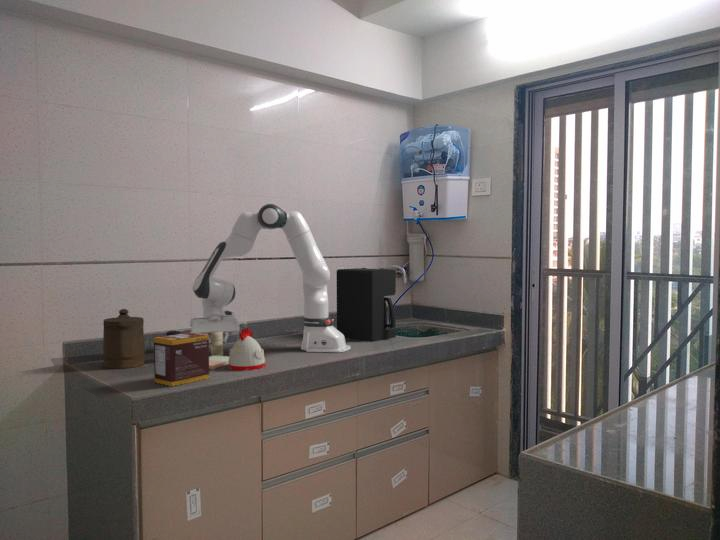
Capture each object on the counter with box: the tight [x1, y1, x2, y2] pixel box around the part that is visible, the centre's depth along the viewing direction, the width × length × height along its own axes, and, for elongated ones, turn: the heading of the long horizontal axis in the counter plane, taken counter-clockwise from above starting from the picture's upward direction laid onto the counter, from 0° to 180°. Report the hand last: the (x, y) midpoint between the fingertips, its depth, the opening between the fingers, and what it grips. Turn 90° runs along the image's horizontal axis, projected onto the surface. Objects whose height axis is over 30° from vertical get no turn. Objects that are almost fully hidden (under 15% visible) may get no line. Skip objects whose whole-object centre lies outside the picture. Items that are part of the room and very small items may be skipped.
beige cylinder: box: [210, 331, 224, 356], centre depth 241 cm, size 5×5×10 cm
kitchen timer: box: [227, 327, 266, 372], centre depth 218 cm, size 14×14×15 cm
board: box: [209, 355, 230, 370], centre depth 224 cm, size 12×18×1 cm, turn 161°
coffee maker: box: [336, 267, 397, 343], centre depth 288 cm, size 28×20×35 cm
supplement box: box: [153, 331, 210, 387], centre depth 195 cm, size 10×15×16 cm
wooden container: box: [102, 308, 146, 370], centre depth 222 cm, size 15×15×22 cm
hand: (217, 343), depth 240 cm, fingers closed on beige cylinder, 5 cm apart
